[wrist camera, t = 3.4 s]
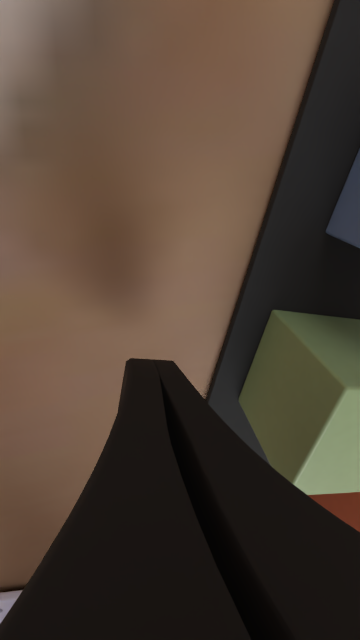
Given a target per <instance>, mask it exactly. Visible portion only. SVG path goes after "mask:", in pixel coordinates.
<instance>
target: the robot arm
mask: <svg viewBox="0 0 360 640" xmlns="http://www.w3.org/2000/svg"><path fill="white" fill-rule="evenodd" d="M0 640H360V532H359V531H357V530H356V529H354V528H353V527H351V526H350V525H348V524H347V523H345V522H344V521H342V520H341V519H339V518H338V517H337V516H335V515H334V514H332V513H331V512H330V511H328V510H327V509H325V508H324V507H323V506H321V505H320V504H318V503H317V502H316V501H314V500H313V499H312V498H310V497H309V496H308V495H307V494H305V493H304V492H303V491H301V490H300V489H299V488H297V487H296V486H295V485H294V484H292V483H291V482H290V481H288V480H287V479H286V478H285V477H283V476H282V475H281V474H280V473H279V472H277V471H276V470H275V469H274V468H273V467H272V466H270V465H269V464H268V463H267V462H266V461H265V460H264V459H263V458H261V457H260V456H259V455H258V454H257V453H256V452H255V451H253V450H252V449H251V448H250V447H249V446H248V445H247V444H246V443H245V442H244V441H243V440H242V439H241V438H240V437H239V436H238V435H237V434H236V433H235V432H234V431H233V430H232V429H231V428H230V427H229V426H228V425H227V424H226V423H225V422H224V421H223V420H222V419H221V417H220V416H219V415H218V414H217V413H216V412H215V411H214V410H213V409H212V408H211V406H210V405H209V404H208V403H207V402H206V401H205V400H204V398H203V397H202V396H201V395H200V394H199V392H198V391H197V390H196V389H195V388H194V386H193V385H192V384H191V383H190V381H189V380H188V379H187V378H186V376H185V375H184V374H183V373H182V371H181V370H180V369H179V368H178V366H177V365H176V364H175V363H174V362H173V361H167V360H150V359H134V358H131V359H129V360H128V361H126V366H125V371H124V377H123V383H122V389H121V395H120V401H119V407H118V414H117V416H116V419H115V421H114V424H113V427H112V429H111V432H110V435H109V437H108V440H107V442H106V444H105V446H104V449H103V451H102V453H101V455H100V458H99V460H98V462H97V464H96V466H95V468H94V470H93V472H92V474H91V476H90V478H89V480H88V482H87V484H86V486H85V487H84V489H83V491H82V493H81V495H80V497H79V499H78V501H77V503H76V504H75V506H74V508H73V510H72V511H71V513H70V515H69V517H68V518H67V520H66V522H65V523H64V525H63V527H62V528H61V530H60V532H59V533H58V535H57V537H56V538H55V540H54V542H53V543H52V545H51V547H50V548H49V550H48V552H47V553H46V555H45V556H44V558H43V560H42V561H41V563H40V565H39V566H38V568H37V569H36V571H35V573H34V574H33V576H32V577H31V579H30V580H29V582H28V583H27V585H26V586H25V588H24V589H23V590H18V591H9V592H1V593H0Z"/></svg>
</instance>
